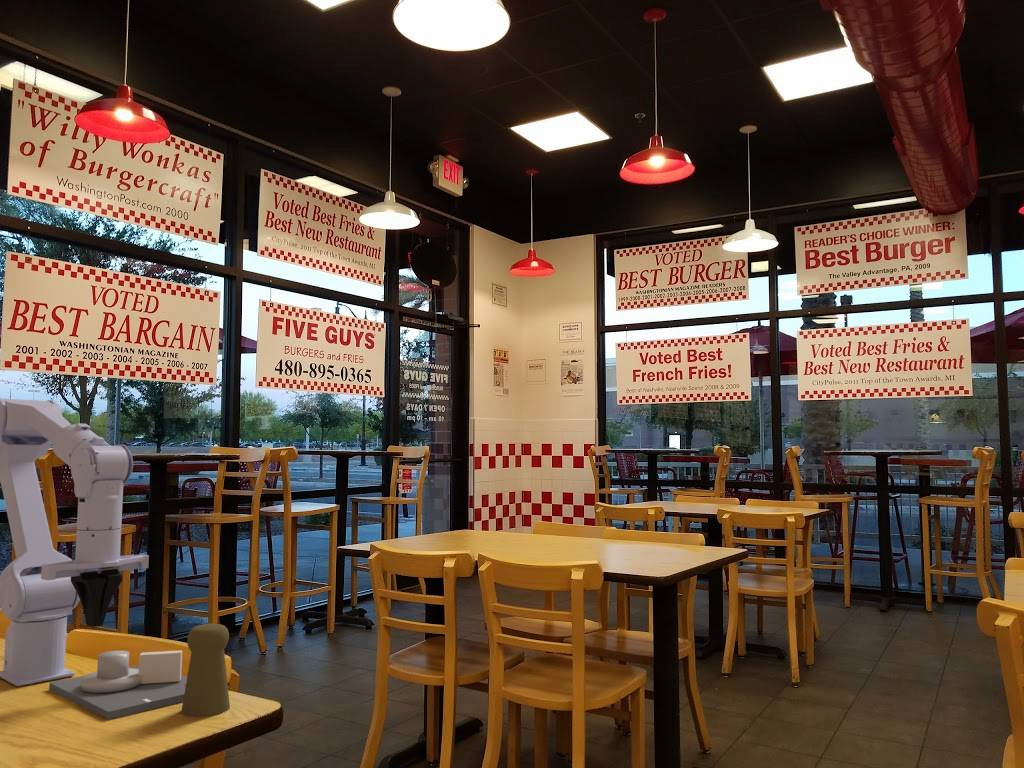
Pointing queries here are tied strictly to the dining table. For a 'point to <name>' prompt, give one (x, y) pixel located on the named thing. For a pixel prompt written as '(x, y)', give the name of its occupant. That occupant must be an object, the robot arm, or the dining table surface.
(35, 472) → the robot arm
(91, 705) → the dial board
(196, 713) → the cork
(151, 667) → the dial
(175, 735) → the dining table surface
